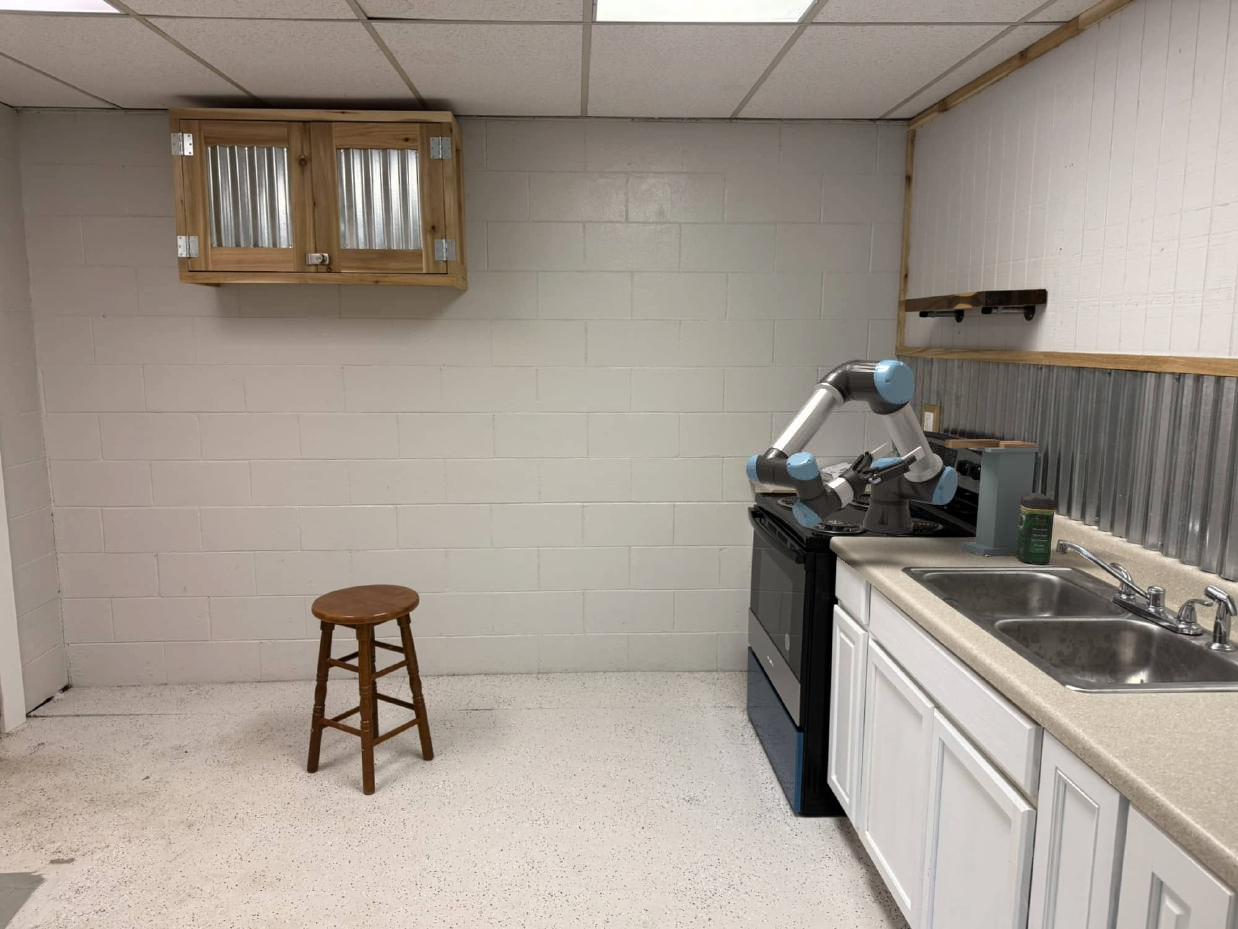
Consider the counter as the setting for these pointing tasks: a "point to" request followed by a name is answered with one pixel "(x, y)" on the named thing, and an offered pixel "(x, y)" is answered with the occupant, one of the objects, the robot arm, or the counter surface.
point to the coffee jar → (1035, 528)
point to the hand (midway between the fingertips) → (906, 448)
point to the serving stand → (1001, 499)
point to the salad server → (987, 444)
